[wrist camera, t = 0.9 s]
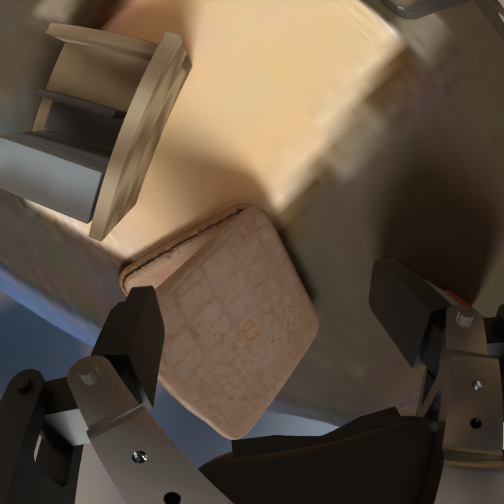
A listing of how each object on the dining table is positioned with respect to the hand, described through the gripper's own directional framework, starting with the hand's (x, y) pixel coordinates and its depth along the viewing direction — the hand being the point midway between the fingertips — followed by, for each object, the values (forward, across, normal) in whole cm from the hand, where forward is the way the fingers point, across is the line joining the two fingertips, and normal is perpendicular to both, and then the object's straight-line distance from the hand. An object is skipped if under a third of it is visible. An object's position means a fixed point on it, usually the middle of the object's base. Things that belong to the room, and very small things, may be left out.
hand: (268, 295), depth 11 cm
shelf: (+25, +15, -9) cm, 30 cm away
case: (+25, +3, +16) cm, 30 cm away
